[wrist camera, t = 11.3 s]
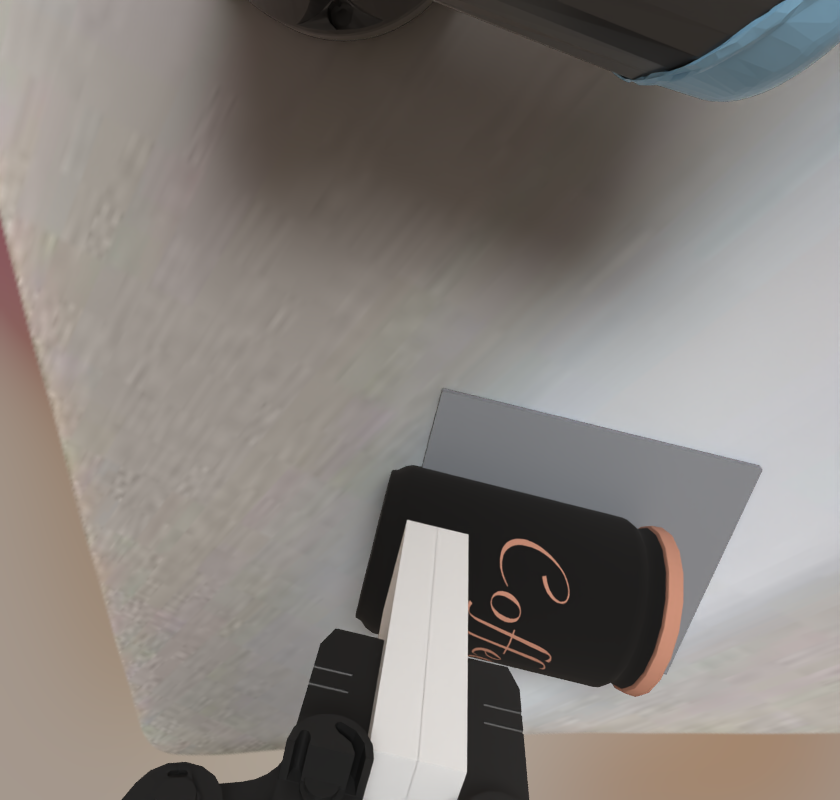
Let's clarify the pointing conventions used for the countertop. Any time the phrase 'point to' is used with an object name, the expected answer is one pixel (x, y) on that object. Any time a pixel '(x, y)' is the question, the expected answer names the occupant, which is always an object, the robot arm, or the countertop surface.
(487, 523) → the coffee jar
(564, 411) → the countertop surface
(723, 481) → the mat
